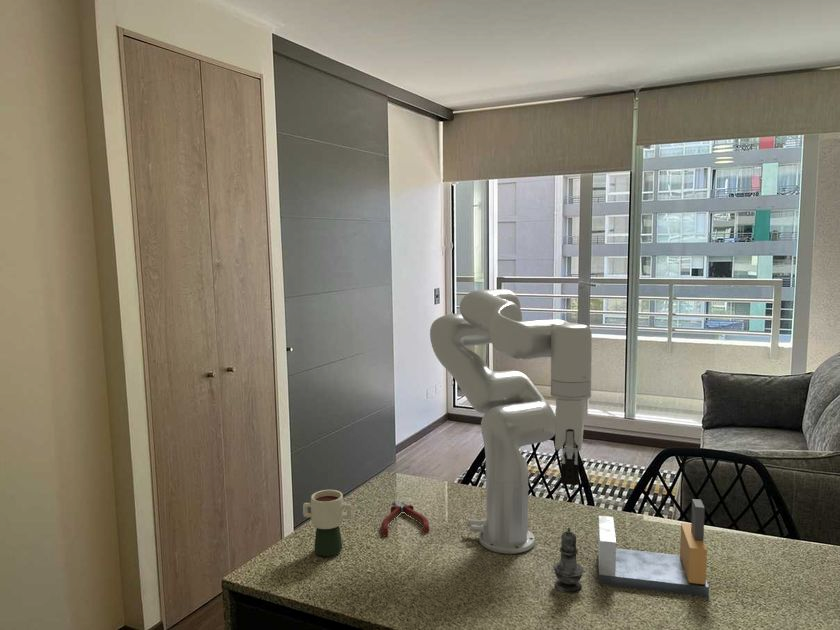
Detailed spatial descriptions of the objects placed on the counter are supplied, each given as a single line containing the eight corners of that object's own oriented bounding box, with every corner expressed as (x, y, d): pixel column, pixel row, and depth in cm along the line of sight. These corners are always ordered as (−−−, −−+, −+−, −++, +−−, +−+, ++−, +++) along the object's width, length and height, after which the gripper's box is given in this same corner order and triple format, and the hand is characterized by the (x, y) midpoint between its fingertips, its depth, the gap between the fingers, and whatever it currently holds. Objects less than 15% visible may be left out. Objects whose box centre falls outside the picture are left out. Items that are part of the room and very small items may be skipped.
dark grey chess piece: (565, 596, 118) (565, 536, 117) (547, 581, 123) (547, 524, 122) (589, 589, 120) (590, 531, 119) (571, 575, 125) (571, 519, 124)
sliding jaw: (688, 582, 118) (691, 513, 117) (680, 555, 129) (682, 491, 127) (705, 584, 117) (708, 515, 116) (695, 556, 128) (697, 493, 126)
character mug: (355, 544, 140) (354, 489, 139) (349, 560, 133) (348, 502, 131) (308, 543, 141) (306, 488, 139) (300, 559, 134) (298, 501, 132)
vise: (599, 584, 122) (600, 540, 121) (597, 555, 134) (598, 515, 133) (708, 597, 117) (710, 552, 116) (697, 566, 128) (698, 524, 128)
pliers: (421, 501, 165) (420, 492, 165) (430, 535, 145) (430, 525, 145) (378, 504, 164) (378, 494, 163) (382, 539, 144) (381, 528, 143)
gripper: (552, 378, 127) (552, 459, 128) (548, 397, 110) (548, 490, 112) (590, 380, 125) (589, 461, 126) (591, 399, 108) (590, 493, 110)
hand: (570, 475), depth 119 cm, fingers open, 9 cm apart
